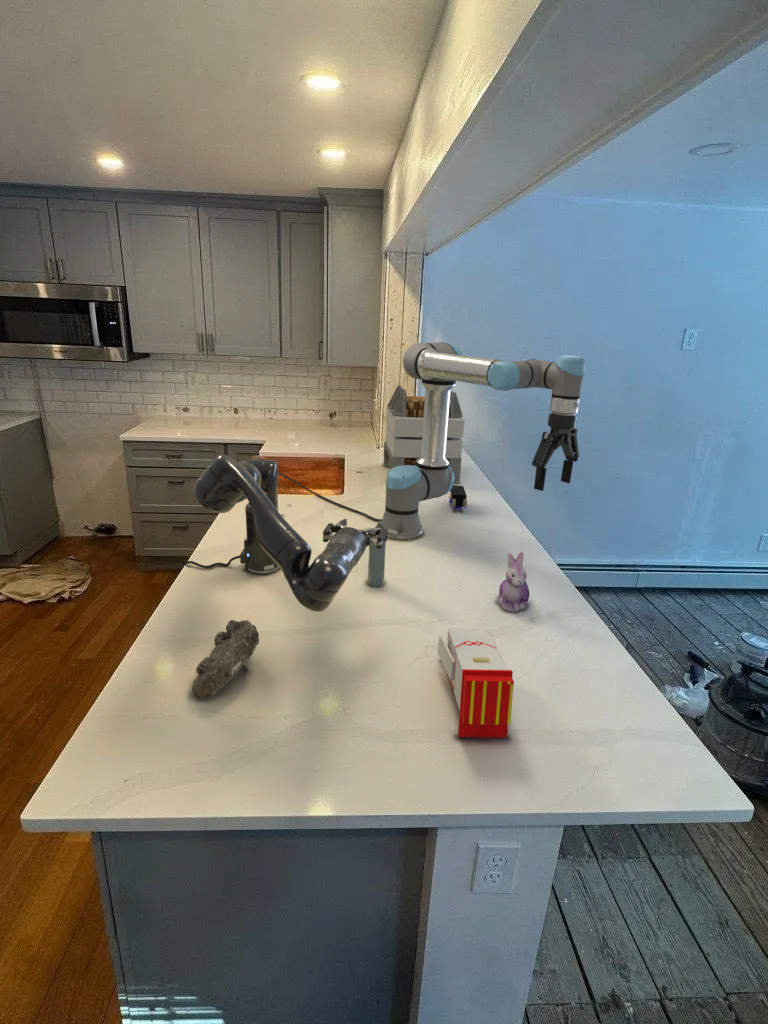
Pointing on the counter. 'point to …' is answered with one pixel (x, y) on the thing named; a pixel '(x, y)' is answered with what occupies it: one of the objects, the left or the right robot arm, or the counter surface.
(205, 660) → the fossil
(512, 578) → the figurine
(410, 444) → the white wooden crate
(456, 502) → the figurine character
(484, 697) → the toy
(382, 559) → the jar
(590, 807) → the counter surface
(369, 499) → the counter surface
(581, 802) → the counter surface
